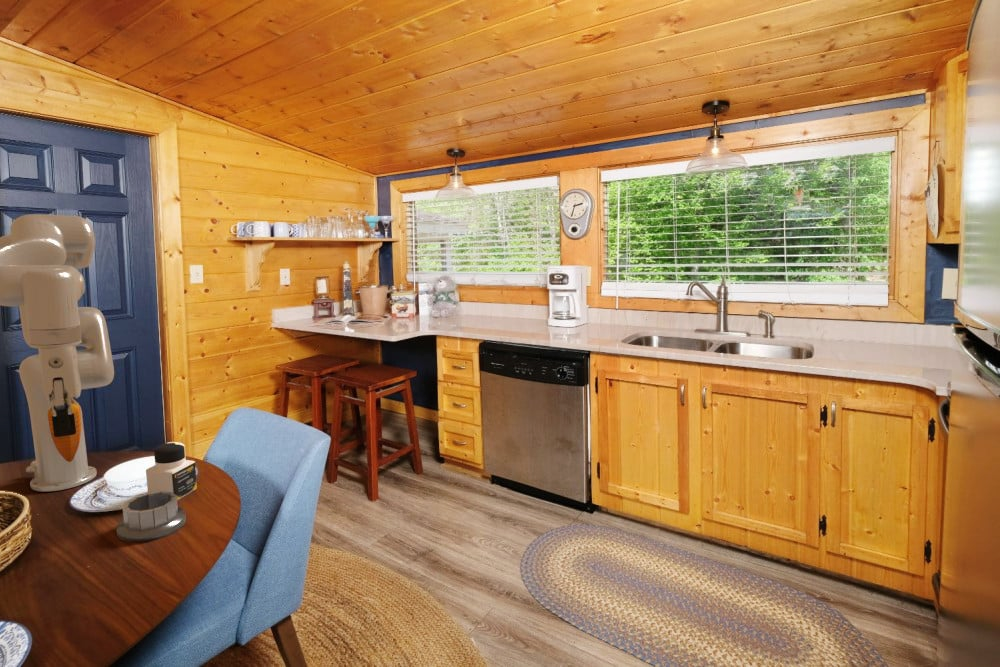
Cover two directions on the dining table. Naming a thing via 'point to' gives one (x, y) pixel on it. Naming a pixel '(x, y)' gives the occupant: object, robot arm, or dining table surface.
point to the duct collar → (150, 517)
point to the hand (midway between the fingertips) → (66, 429)
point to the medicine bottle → (171, 471)
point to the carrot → (71, 442)
